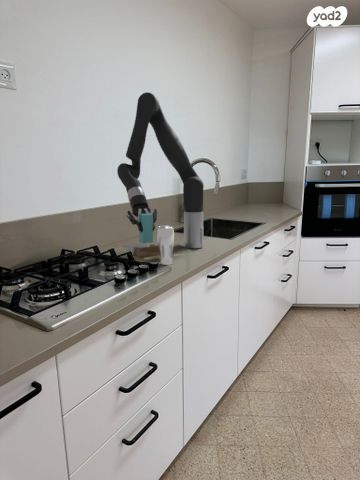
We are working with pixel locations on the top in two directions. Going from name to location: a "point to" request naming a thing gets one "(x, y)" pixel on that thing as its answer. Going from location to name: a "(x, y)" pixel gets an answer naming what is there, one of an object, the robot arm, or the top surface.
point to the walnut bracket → (146, 253)
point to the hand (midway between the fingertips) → (147, 230)
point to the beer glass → (165, 244)
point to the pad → (130, 247)
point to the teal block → (146, 228)
